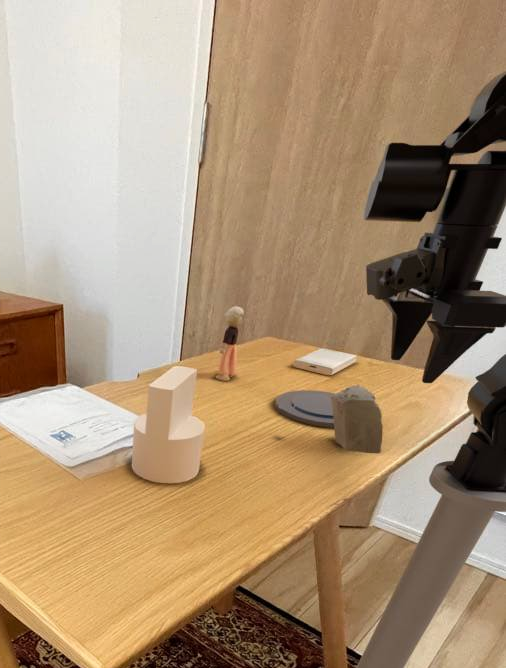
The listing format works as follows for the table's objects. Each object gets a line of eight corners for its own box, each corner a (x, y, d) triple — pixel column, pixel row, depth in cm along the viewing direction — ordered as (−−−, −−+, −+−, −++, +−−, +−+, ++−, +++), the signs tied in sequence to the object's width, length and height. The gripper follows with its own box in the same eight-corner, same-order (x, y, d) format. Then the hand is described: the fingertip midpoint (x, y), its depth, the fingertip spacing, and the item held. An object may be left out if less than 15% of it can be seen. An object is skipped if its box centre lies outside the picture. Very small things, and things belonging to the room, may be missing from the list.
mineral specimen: (351, 424, 76) (377, 377, 70) (380, 460, 71) (411, 412, 65) (308, 425, 75) (331, 378, 69) (334, 462, 70) (361, 413, 64)
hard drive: (320, 347, 108) (294, 358, 101) (357, 355, 104) (333, 367, 96) (318, 355, 109) (292, 367, 102) (355, 363, 105) (331, 376, 97)
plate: (351, 396, 89) (353, 390, 88) (383, 430, 76) (386, 423, 76) (267, 392, 89) (268, 386, 89) (286, 426, 77) (287, 419, 77)
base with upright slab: (147, 446, 71) (153, 361, 64) (207, 460, 67) (221, 372, 60) (120, 473, 64) (123, 381, 57) (185, 489, 61) (197, 395, 54)
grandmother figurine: (233, 383, 93) (245, 311, 86) (212, 381, 94) (223, 309, 87) (236, 371, 99) (249, 303, 92) (217, 369, 100) (228, 301, 92)
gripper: (359, 217, 61) (323, 348, 70) (429, 229, 46) (372, 394, 55) (452, 219, 60) (403, 350, 69) (554, 232, 45) (475, 398, 54)
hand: (410, 370), depth 62 cm, fingers open, 9 cm apart
